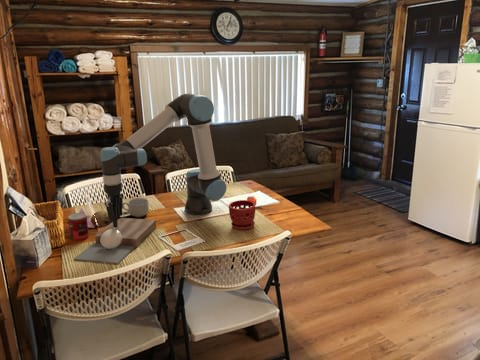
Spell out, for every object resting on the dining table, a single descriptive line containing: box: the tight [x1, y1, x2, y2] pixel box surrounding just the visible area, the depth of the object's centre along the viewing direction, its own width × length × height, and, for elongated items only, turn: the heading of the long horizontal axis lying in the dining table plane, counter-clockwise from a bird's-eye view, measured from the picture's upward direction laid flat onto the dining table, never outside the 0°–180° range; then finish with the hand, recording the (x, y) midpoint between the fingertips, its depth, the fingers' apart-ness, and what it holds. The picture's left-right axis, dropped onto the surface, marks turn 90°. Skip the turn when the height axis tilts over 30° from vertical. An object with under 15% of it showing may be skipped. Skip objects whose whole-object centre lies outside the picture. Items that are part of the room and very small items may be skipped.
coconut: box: [89, 210, 112, 227], centre depth 200 cm, size 10×10×8 cm
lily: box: [78, 207, 96, 229], centre depth 192 cm, size 12×12×10 cm
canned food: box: [67, 212, 90, 242], centre depth 183 cm, size 8×8×11 cm
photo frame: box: [158, 228, 206, 252], centre depth 181 cm, size 15×1×18 cm
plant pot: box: [228, 199, 256, 231], centre depth 194 cm, size 13×13×12 cm
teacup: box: [122, 197, 150, 218], centre depth 210 cm, size 14×11×8 cm
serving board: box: [94, 217, 157, 248], centre depth 186 cm, size 20×22×4 cm
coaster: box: [100, 229, 122, 250], centre depth 172 cm, size 9×9×2 cm
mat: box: [73, 242, 135, 265], centre depth 168 cm, size 20×15×1 cm
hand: (117, 232), depth 177 cm, fingers closed
